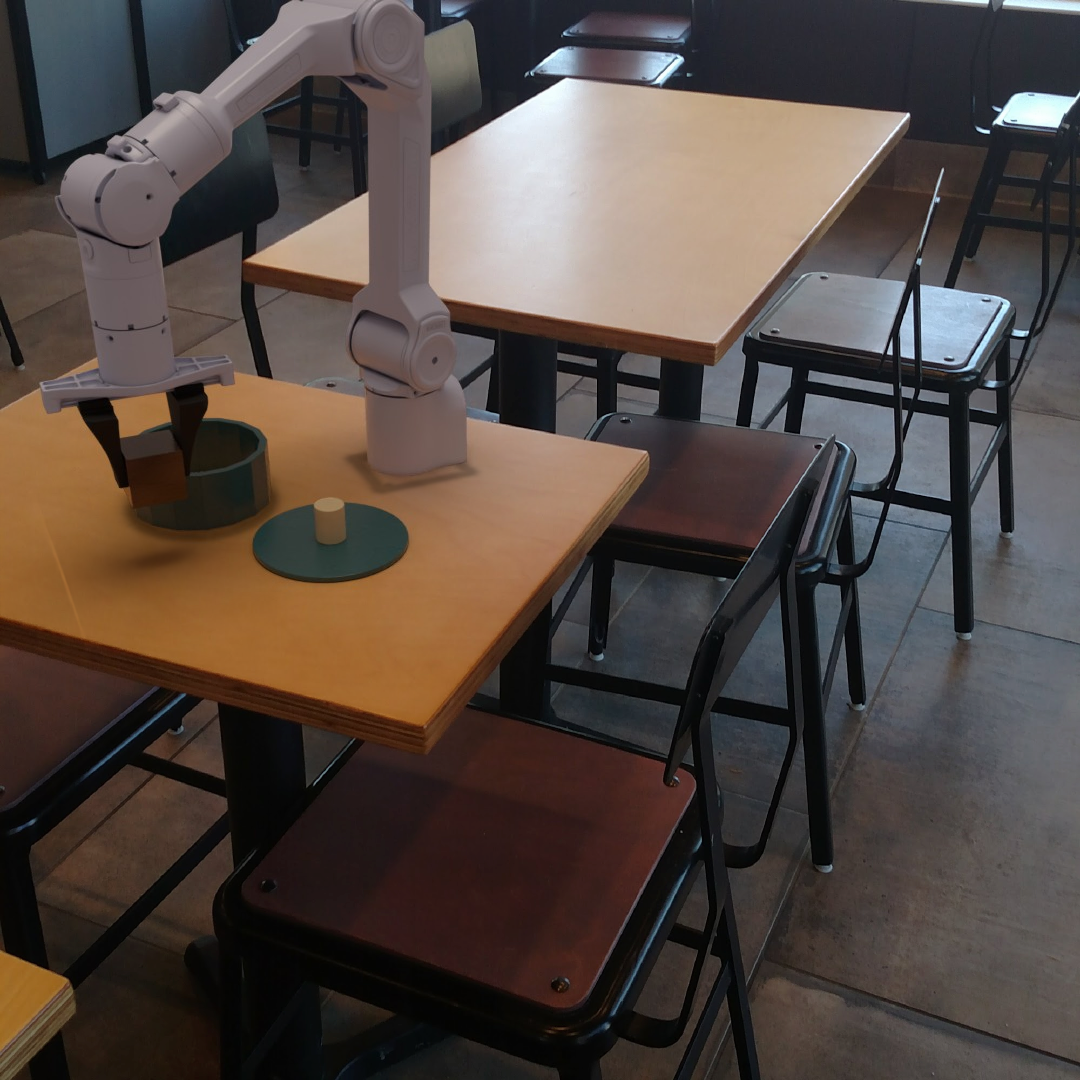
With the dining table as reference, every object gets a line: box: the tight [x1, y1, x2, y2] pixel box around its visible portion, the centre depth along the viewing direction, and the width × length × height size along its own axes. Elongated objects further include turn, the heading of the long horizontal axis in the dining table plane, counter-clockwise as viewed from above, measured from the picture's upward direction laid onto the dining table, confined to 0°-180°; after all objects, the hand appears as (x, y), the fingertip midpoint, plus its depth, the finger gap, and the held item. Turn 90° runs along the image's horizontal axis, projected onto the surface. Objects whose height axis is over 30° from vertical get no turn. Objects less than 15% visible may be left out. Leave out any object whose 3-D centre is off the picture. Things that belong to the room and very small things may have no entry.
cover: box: [252, 496, 410, 583], centre depth 108 cm, size 13×13×4 cm
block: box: [120, 430, 188, 510], centre depth 102 cm, size 4×4×4 cm
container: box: [133, 417, 273, 531], centre depth 114 cm, size 12×12×6 cm
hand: (153, 477), depth 102 cm, fingers closed on block, 4 cm apart
